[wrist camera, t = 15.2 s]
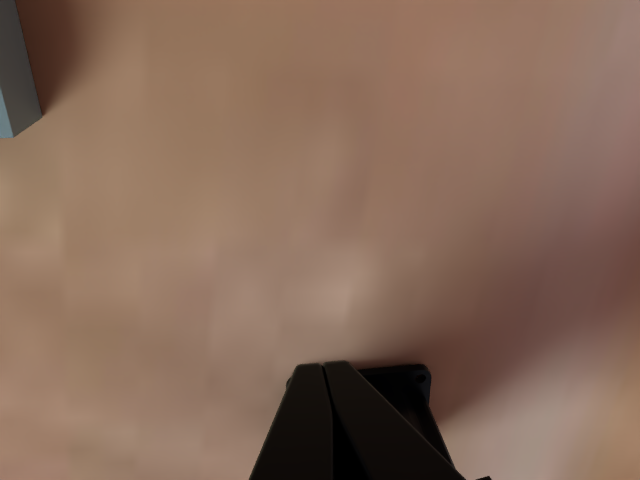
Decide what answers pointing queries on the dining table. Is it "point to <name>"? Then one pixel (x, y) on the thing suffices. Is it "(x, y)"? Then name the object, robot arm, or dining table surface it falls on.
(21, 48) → the tray
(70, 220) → the dining table surface
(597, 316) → the dining table surface
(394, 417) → the robot arm
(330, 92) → the dining table surface
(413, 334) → the dining table surface
